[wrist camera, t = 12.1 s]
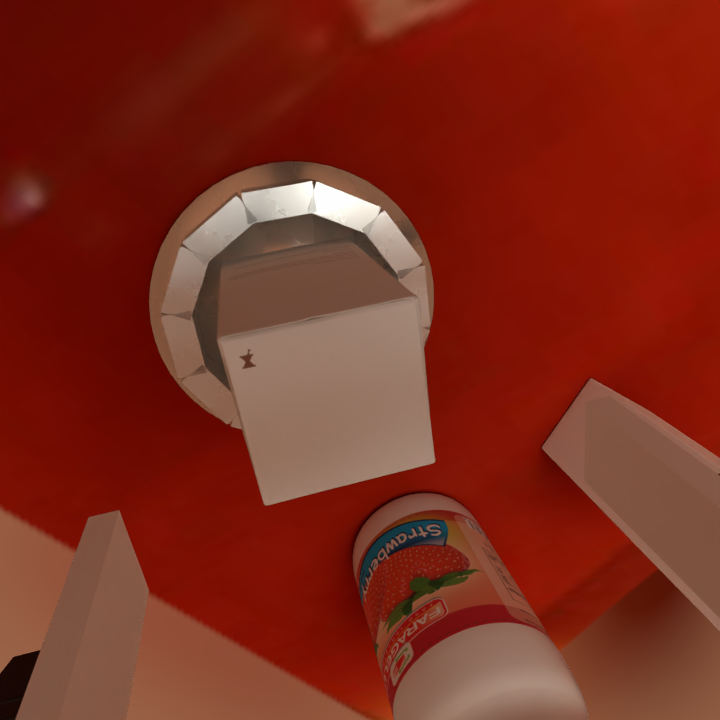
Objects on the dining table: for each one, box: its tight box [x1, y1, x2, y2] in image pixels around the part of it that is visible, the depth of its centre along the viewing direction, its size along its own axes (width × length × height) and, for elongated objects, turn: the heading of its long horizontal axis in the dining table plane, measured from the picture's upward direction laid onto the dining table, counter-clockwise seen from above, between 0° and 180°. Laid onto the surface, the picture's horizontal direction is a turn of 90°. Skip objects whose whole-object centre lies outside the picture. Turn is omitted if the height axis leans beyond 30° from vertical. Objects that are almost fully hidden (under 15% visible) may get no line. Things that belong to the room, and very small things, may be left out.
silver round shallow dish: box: [149, 161, 434, 429], centre depth 33 cm, size 16×16×3 cm
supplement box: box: [217, 238, 435, 506], centre depth 27 cm, size 7×7×13 cm
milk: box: [542, 378, 720, 631], centre depth 32 cm, size 6×6×22 cm
